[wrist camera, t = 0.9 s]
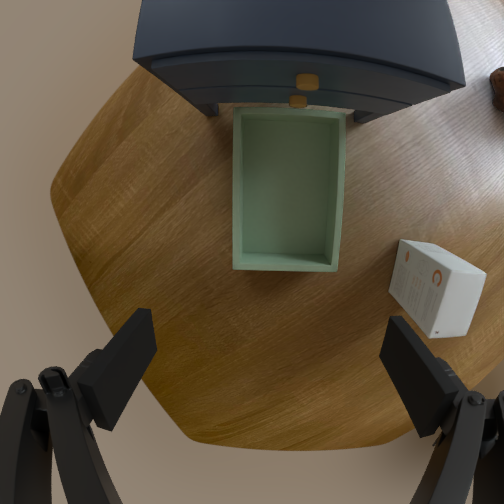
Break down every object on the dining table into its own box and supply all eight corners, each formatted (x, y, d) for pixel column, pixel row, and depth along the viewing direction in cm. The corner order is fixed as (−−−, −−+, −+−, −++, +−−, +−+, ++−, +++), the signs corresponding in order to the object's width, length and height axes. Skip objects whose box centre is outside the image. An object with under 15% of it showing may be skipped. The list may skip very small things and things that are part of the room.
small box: (421, 293, 37) (466, 337, 25) (387, 291, 38) (427, 340, 25) (434, 242, 35) (488, 273, 23) (399, 237, 35) (450, 270, 23)
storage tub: (238, 115, 32) (233, 107, 27) (335, 119, 31) (345, 112, 27) (237, 256, 37) (232, 269, 32) (328, 258, 37) (337, 272, 32)
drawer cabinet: (209, 35, 29) (159, -63, 9) (360, 43, 28) (432, -39, 8) (205, 127, 32) (129, 81, 12) (364, 133, 32) (468, 107, 12)
